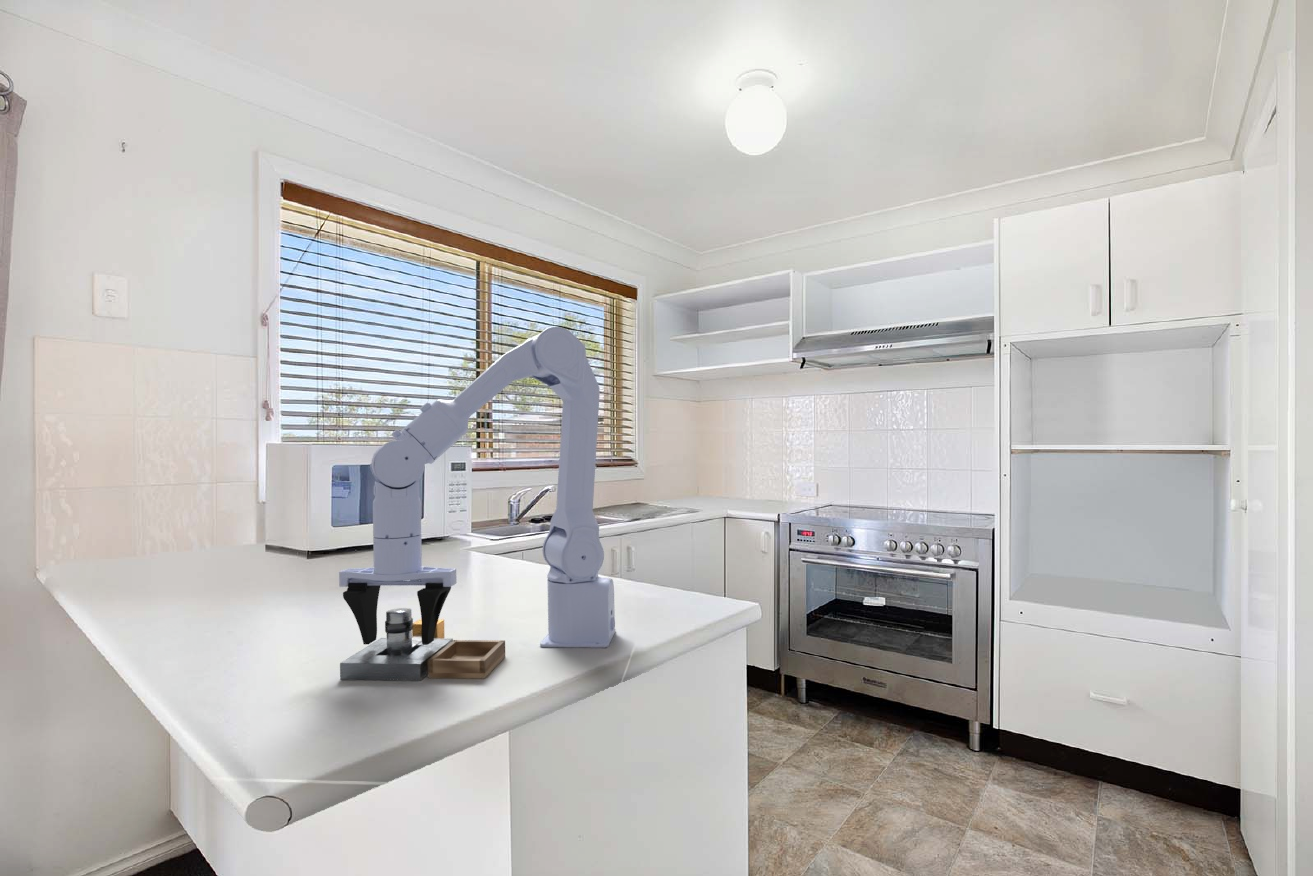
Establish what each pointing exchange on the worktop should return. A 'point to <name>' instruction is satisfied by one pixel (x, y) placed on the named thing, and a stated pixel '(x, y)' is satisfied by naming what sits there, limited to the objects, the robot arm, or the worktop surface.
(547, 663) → the worktop surface
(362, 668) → the socket
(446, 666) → the square wooden tray
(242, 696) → the worktop surface
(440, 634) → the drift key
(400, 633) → the silver metal canister
